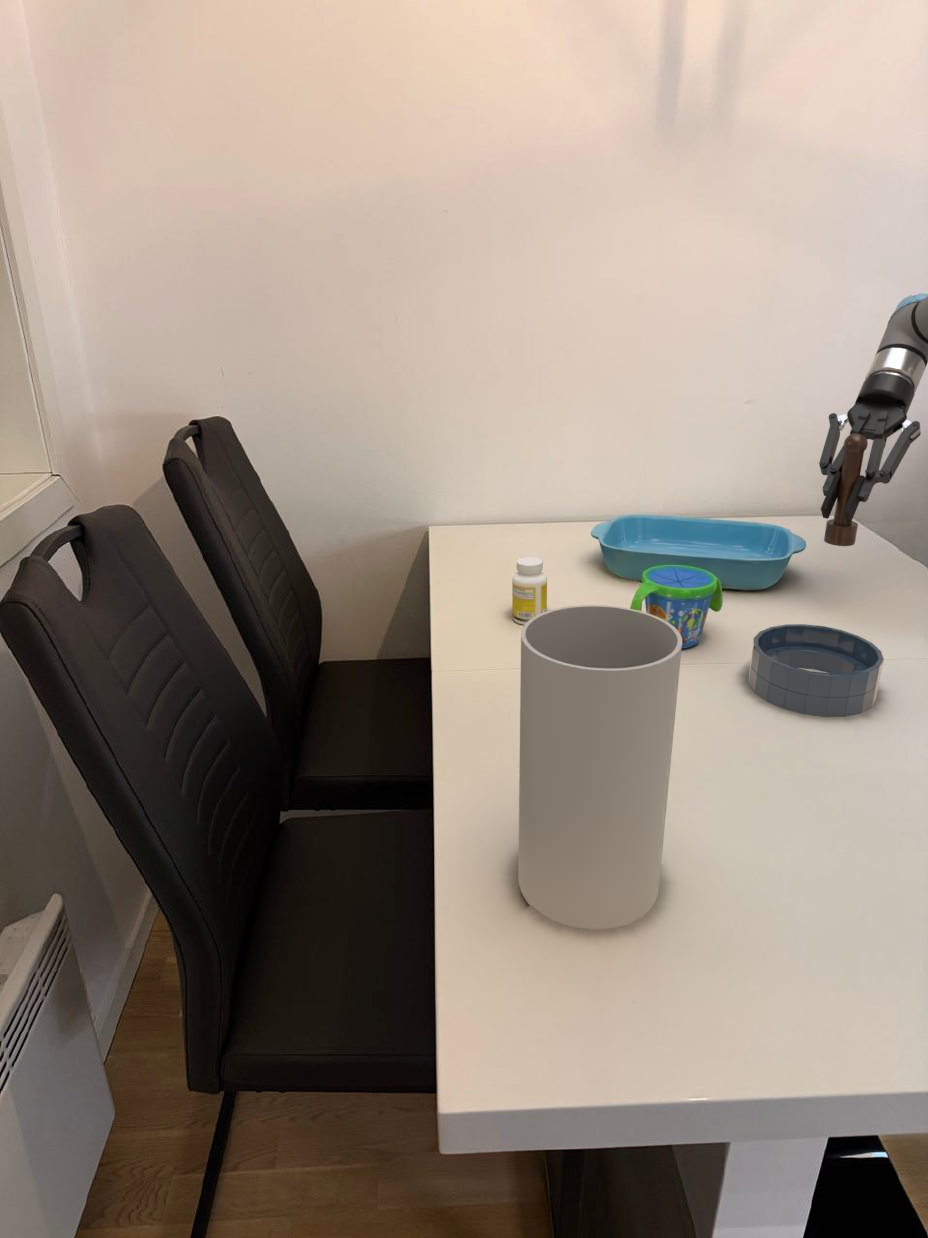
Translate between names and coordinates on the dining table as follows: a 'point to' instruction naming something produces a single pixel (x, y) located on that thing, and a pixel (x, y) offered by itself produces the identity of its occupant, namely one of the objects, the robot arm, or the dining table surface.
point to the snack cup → (680, 598)
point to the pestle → (846, 492)
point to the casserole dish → (698, 548)
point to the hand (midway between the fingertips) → (835, 515)
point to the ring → (821, 649)
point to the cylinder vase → (595, 761)
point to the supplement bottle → (528, 590)
